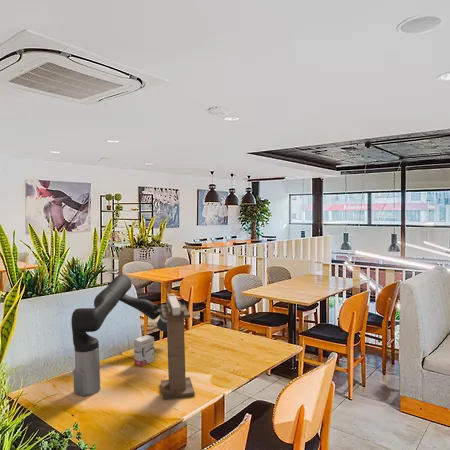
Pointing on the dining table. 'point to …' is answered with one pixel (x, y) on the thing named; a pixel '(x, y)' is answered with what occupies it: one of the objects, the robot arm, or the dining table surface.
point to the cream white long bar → (173, 304)
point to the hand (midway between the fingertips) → (169, 303)
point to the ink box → (143, 350)
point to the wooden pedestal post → (176, 356)
